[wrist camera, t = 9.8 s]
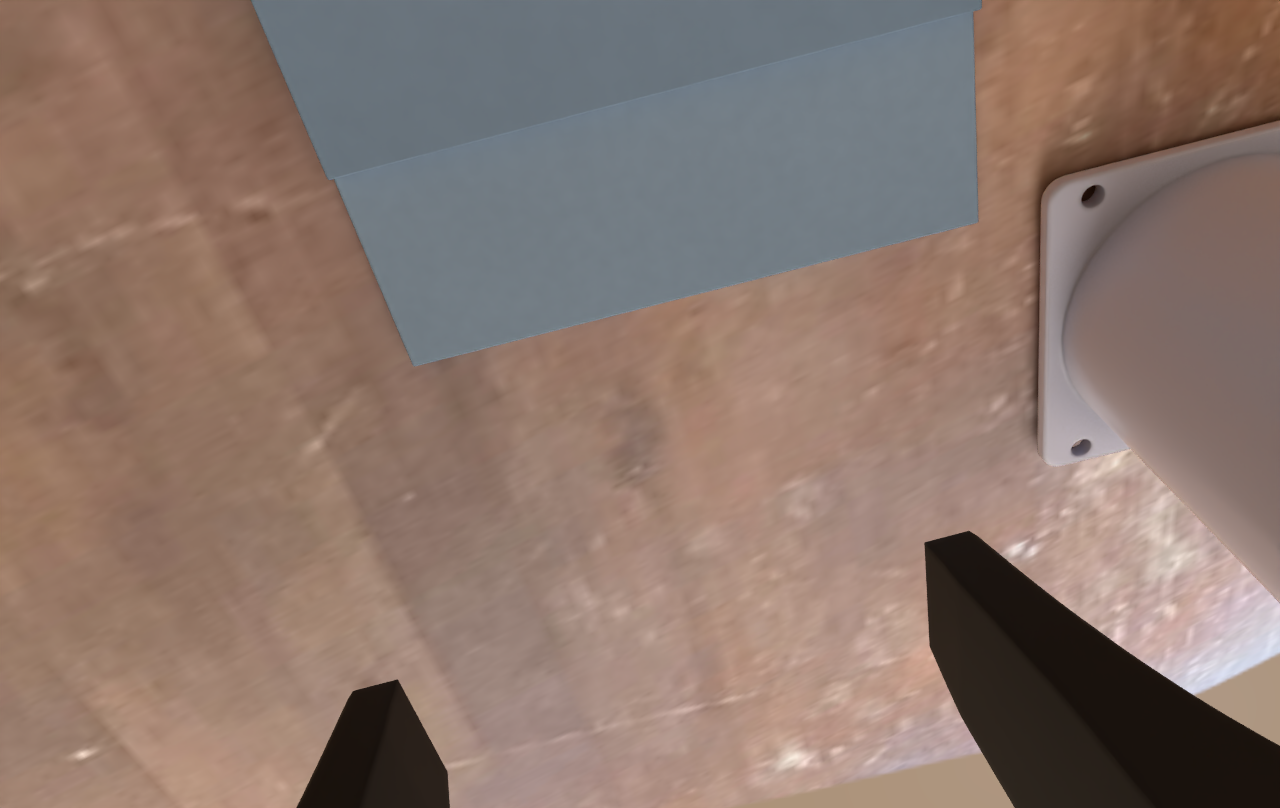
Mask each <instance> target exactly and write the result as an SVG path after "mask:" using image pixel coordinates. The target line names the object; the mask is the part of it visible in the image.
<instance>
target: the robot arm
mask: <svg viewBox="0 0 1280 808" xmlns="http://www.w3.org/2000/svg"><path fill="white" fill-rule="evenodd" d="M1093 185H1095V186H1096V189H1095V192H1094V194H1093V195H1092V196H1091V198H1090V199H1088V200H1086V201H1084V202H1082V201H1081V199H1082V195H1083V193H1084V192H1085V191H1086V190H1087V188H1089V187H1091V186H1093ZM1082 439H1083V440H1082ZM1079 440H1082V442H1081V443H1080V444H1079V445H1077V446H1074V447H1072V446H1073V445H1074V444H1075V443H1076V442H1077V441H1079ZM1128 449H1131V450H1132V451H1133V452H1134V453H1135V454H1136V455H1137V456H1138V457H1139V458H1140V459H1141V460H1142V461H1143V462H1144V463H1145V464H1146V465H1147V466H1148V467H1149V468H1150V469H1151V470H1152V471H1153V473H1154V474H1155V475H1156V476H1157V477H1158V478H1159V479H1160V480H1161V481H1162V482H1163V483H1164V484H1165V485H1166V486H1167V487H1168V488H1169V489H1170V490H1171V491H1172V492H1173V493H1174V494H1175V495H1176V496H1177V497H1178V498H1179V499H1180V500H1181V501H1182V502H1183V504H1184V505H1185V506H1186V507H1187V508H1188V509H1189V510H1190V511H1191V512H1192V513H1193V514H1194V515H1195V516H1196V517H1197V518H1198V519H1199V520H1200V521H1201V522H1202V523H1203V524H1204V525H1205V526H1206V527H1207V528H1208V529H1209V530H1210V531H1211V532H1212V533H1213V535H1214V536H1215V537H1216V538H1217V539H1218V540H1219V541H1220V542H1221V543H1222V544H1223V545H1224V546H1225V547H1226V548H1227V549H1228V550H1229V551H1230V552H1231V553H1232V554H1233V555H1234V556H1235V557H1236V558H1237V559H1238V560H1239V561H1240V562H1241V563H1242V564H1243V566H1244V567H1245V568H1246V569H1247V570H1248V571H1249V572H1250V573H1251V574H1252V575H1253V576H1254V577H1255V578H1256V579H1257V580H1258V581H1259V582H1260V583H1261V584H1262V585H1263V586H1264V587H1265V588H1266V589H1267V590H1268V591H1269V592H1270V593H1271V594H1272V595H1273V597H1274V598H1275V599H1276V600H1277V601H1278V602H1279V603H1280V120H1279V121H1275V122H1271V123H1267V124H1263V125H1259V126H1255V127H1251V128H1248V129H1244V130H1240V131H1236V132H1232V133H1228V134H1224V135H1220V136H1216V137H1212V138H1209V139H1205V140H1201V141H1197V142H1193V143H1189V144H1185V145H1181V146H1177V147H1173V148H1169V149H1166V150H1162V151H1158V152H1154V153H1150V154H1146V155H1142V156H1138V157H1134V158H1130V159H1127V160H1123V161H1119V162H1115V163H1111V164H1107V165H1103V166H1099V167H1095V168H1091V169H1087V170H1084V171H1080V172H1076V173H1072V174H1068V175H1064V176H1062V177H1059V178H1057V179H1055V180H1054V181H1053V182H1052V183H1050V184H1049V185H1048V186H1047V188H1046V190H1045V191H1044V193H1043V195H1042V200H1041V236H1040V304H1039V372H1038V441H1037V450H1038V454H1039V456H1040V457H1041V458H1042V459H1043V460H1044V462H1045V463H1047V464H1048V465H1050V466H1053V467H1056V466H1063V465H1067V464H1071V463H1075V462H1079V461H1083V460H1088V459H1092V458H1096V457H1100V456H1104V455H1108V454H1112V453H1116V452H1120V451H1124V450H1128ZM925 561H926V581H927V601H928V621H929V641H930V648H931V650H932V652H933V655H934V657H935V659H936V662H937V664H938V666H939V668H940V671H941V673H942V675H943V678H944V680H945V682H946V685H947V687H948V689H949V691H950V693H951V695H952V698H953V700H954V702H955V704H956V706H957V709H958V711H959V713H960V715H961V717H962V719H963V720H964V722H965V724H966V726H967V727H968V729H969V731H970V733H971V734H972V736H973V738H974V739H975V741H976V743H977V745H978V746H979V748H980V750H981V751H982V753H983V755H984V756H985V758H986V760H987V761H988V763H989V765H990V767H991V768H992V770H993V772H994V774H995V775H996V777H997V779H998V780H999V782H1000V784H1001V785H1002V787H1003V789H1004V790H1005V792H1006V794H1007V796H1008V797H1009V799H1010V800H1011V802H1012V804H1013V806H1014V807H1015V808H1280V746H1279V745H1277V744H1276V743H1274V742H1272V741H1270V740H1268V739H1266V738H1265V737H1263V736H1261V735H1259V734H1258V733H1256V732H1254V731H1252V730H1251V729H1249V728H1247V727H1245V726H1244V725H1242V724H1240V723H1238V722H1237V721H1235V720H1233V719H1232V718H1230V717H1228V716H1226V715H1225V714H1223V713H1221V712H1220V711H1218V710H1217V709H1215V708H1213V707H1212V706H1210V705H1208V704H1207V703H1205V702H1203V701H1202V700H1200V699H1199V698H1197V697H1195V696H1194V695H1192V694H1191V693H1189V692H1187V691H1186V690H1184V689H1183V688H1181V687H1180V686H1178V685H1177V684H1175V683H1174V682H1172V681H1171V680H1169V679H1167V678H1166V677H1164V676H1163V675H1161V674H1160V673H1158V672H1157V671H1155V670H1154V669H1152V668H1151V667H1149V666H1148V665H1146V664H1145V663H1143V662H1142V661H1140V660H1139V659H1137V658H1136V657H1135V656H1133V655H1132V654H1130V653H1129V652H1127V651H1126V650H1124V649H1123V648H1122V647H1120V646H1119V645H1117V644H1116V643H1114V642H1113V641H1112V640H1110V639H1109V638H1108V637H1106V636H1105V635H1103V634H1102V633H1101V632H1099V631H1098V630H1097V629H1095V628H1094V627H1092V626H1091V625H1090V624H1088V623H1087V622H1086V621H1084V620H1083V619H1081V618H1080V617H1079V616H1077V615H1076V614H1075V613H1073V612H1072V611H1071V610H1069V609H1068V608H1067V607H1065V606H1064V605H1063V604H1061V603H1060V602H1059V601H1057V600H1056V599H1055V598H1054V597H1052V596H1051V595H1050V594H1048V593H1047V592H1046V591H1045V590H1043V589H1042V588H1041V587H1039V586H1038V585H1037V584H1036V583H1034V582H1033V581H1032V580H1031V579H1029V578H1028V577H1027V576H1026V575H1024V574H1023V573H1022V572H1021V571H1019V570H1018V569H1017V568H1016V567H1014V566H1013V565H1012V564H1011V563H1009V562H1008V561H1007V560H1006V559H1005V558H1003V557H1002V556H1001V555H1000V554H999V553H997V552H996V551H995V550H994V549H992V548H991V547H990V546H989V545H988V544H986V543H985V542H984V541H983V540H982V539H980V538H979V537H978V536H977V535H975V534H973V533H972V532H970V531H967V532H963V533H959V534H955V535H952V536H948V537H944V538H940V539H936V540H932V541H929V542H925ZM297 808H450V804H449V788H448V773H447V770H446V768H445V766H444V765H443V763H442V761H441V759H440V757H439V755H438V753H437V752H436V750H435V748H434V746H433V744H432V742H431V740H430V739H429V737H428V735H427V733H426V731H425V729H424V727H423V726H422V724H421V722H420V720H419V718H418V716H417V714H416V712H415V711H414V709H413V707H412V705H411V703H410V701H409V699H408V698H407V696H406V694H405V692H404V690H403V688H402V686H401V685H400V683H399V681H398V680H394V681H390V682H386V683H382V684H379V685H375V686H371V687H367V688H363V689H359V690H355V691H353V692H352V694H351V695H350V697H349V698H348V700H347V702H346V705H345V707H344V709H343V711H342V713H341V715H340V717H339V720H338V722H337V724H336V726H335V728H334V730H333V733H332V735H331V737H330V739H329V741H328V743H327V745H326V748H325V750H324V752H323V754H322V756H321V758H320V760H319V762H318V765H317V767H316V769H315V771H314V773H313V775H312V777H311V779H310V781H309V783H308V785H307V787H306V790H305V792H304V794H303V796H302V798H301V800H300V802H299V804H298V806H297Z"/></svg>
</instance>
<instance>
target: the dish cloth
mask: <svg viewBox="0 0 1280 808" xmlns="http://www.w3.org/2000/svg"><path fill="white" fill-rule="evenodd" d="M251 2H252V4H253V7H254V9H255V11H256V14H257V16H258V18H259V21H260V23H261V25H262V28H263V30H264V32H265V35H266V37H267V39H268V42H269V44H270V46H271V49H272V51H273V53H274V56H275V58H276V60H277V63H278V65H279V67H280V70H281V72H282V74H283V77H284V79H285V81H286V84H287V86H288V88H289V91H290V93H291V95H292V98H293V100H294V102H295V105H296V107H297V109H298V112H299V114H300V116H301V119H302V121H303V123H304V126H305V128H306V130H307V133H308V135H309V137H310V140H311V142H312V144H313V147H314V149H315V151H316V154H317V156H318V158H319V161H320V163H321V165H322V168H323V170H324V172H325V175H326V177H327V179H328V180H332V179H334V181H335V183H336V185H337V188H338V190H339V192H340V195H341V197H342V200H343V202H344V204H345V207H346V209H347V211H348V214H349V216H350V218H351V221H352V223H353V225H354V228H355V230H356V233H357V235H358V237H359V240H360V242H361V244H362V247H363V249H364V251H365V254H366V256H367V259H368V261H369V263H370V266H371V268H372V270H373V273H374V275H375V277H376V280H377V282H378V284H379V287H380V289H381V292H382V294H383V296H384V299H385V301H386V303H387V306H388V308H389V310H390V313H391V315H392V318H393V320H394V322H395V325H396V327H397V329H398V332H399V334H400V336H401V339H402V341H403V343H404V346H405V348H406V351H407V353H408V355H409V358H410V360H411V362H412V365H413V366H419V365H423V364H426V363H430V362H434V361H438V360H442V359H446V358H450V357H454V356H458V355H462V354H466V353H470V352H473V351H477V350H481V349H485V348H489V347H493V346H497V345H501V344H505V343H509V342H513V341H517V340H520V339H524V338H528V337H532V336H536V335H540V334H544V333H548V332H552V331H556V330H560V329H564V328H567V327H571V326H575V325H579V324H583V323H587V322H591V321H595V320H599V319H603V318H607V317H611V316H614V315H618V314H622V313H626V312H630V311H634V310H638V309H642V308H646V307H650V306H654V305H658V304H661V303H665V302H669V301H673V300H677V299H681V298H685V297H689V296H693V295H697V294H701V293H705V292H709V291H712V290H716V289H720V288H724V287H728V286H732V285H736V284H740V283H744V282H748V281H752V280H756V279H759V278H763V277H767V276H771V275H775V274H779V273H783V272H787V271H791V270H795V269H799V268H803V267H806V266H810V265H814V264H818V263H822V262H826V261H830V260H834V259H838V258H842V257H846V256H850V255H853V254H857V253H861V252H865V251H869V250H873V249H877V248H881V247H885V246H889V245H893V244H897V243H900V242H904V241H908V240H912V239H916V238H920V237H924V236H928V235H932V234H936V233H940V232H944V231H947V230H951V229H955V228H959V227H963V226H967V225H971V224H975V223H977V222H978V184H977V144H976V104H975V63H974V23H973V11H977V10H980V9H981V8H982V0H251Z"/></svg>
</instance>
